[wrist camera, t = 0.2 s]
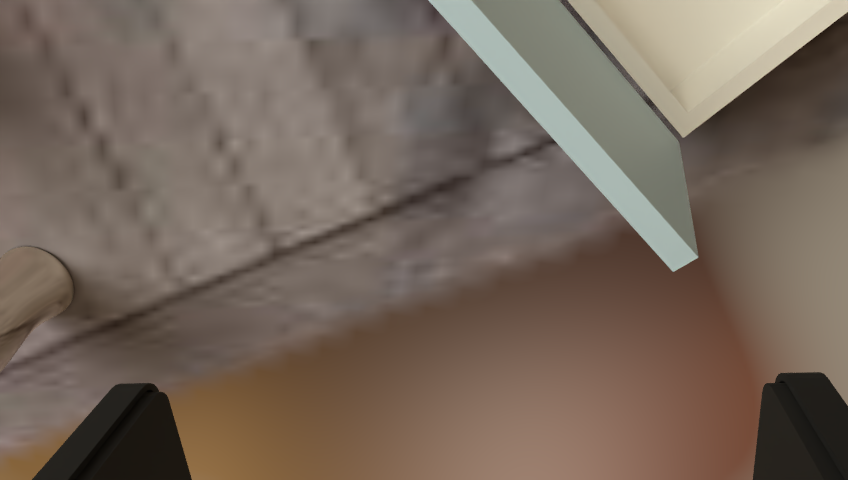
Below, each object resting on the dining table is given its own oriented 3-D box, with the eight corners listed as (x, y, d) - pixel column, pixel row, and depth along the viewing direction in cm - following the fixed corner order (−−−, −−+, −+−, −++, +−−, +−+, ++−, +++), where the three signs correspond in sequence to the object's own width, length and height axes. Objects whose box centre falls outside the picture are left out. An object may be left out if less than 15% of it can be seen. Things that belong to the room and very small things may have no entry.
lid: (429, -153, 34) (413, -134, 35) (351, -136, 24) (330, -109, 25) (678, 142, 39) (660, 154, 40) (698, 257, 29) (673, 271, 30)
